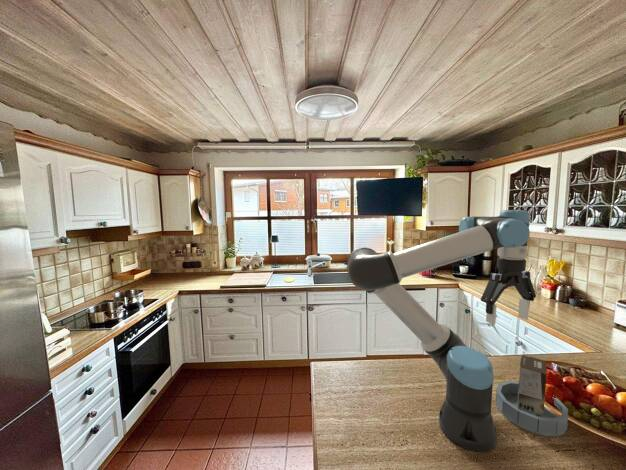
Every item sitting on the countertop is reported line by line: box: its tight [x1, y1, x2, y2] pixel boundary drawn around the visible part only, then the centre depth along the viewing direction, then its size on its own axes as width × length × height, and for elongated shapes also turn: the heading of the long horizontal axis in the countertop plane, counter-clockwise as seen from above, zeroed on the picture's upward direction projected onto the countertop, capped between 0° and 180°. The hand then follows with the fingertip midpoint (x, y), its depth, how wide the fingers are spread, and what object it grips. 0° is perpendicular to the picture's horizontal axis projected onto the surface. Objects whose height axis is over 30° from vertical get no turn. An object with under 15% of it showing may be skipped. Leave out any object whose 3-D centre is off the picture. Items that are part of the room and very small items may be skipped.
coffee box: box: [518, 354, 548, 417], centre depth 84 cm, size 9×6×16 cm
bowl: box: [495, 380, 569, 438], centre depth 85 cm, size 17×17×5 cm
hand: (507, 320), depth 88 cm, fingers open, 13 cm apart
